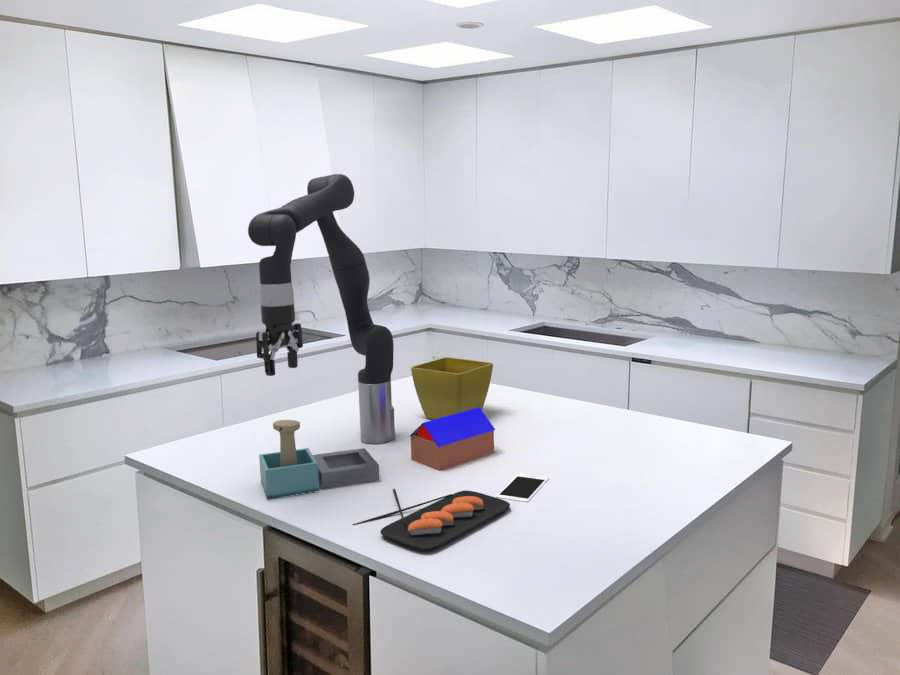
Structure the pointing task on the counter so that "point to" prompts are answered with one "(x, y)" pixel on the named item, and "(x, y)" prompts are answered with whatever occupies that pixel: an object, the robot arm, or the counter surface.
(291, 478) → the bin
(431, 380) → the flower pot
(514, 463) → the counter surface
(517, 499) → the cell phone
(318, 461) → the socket block
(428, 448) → the house
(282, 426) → the handle
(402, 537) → the sushi plate
